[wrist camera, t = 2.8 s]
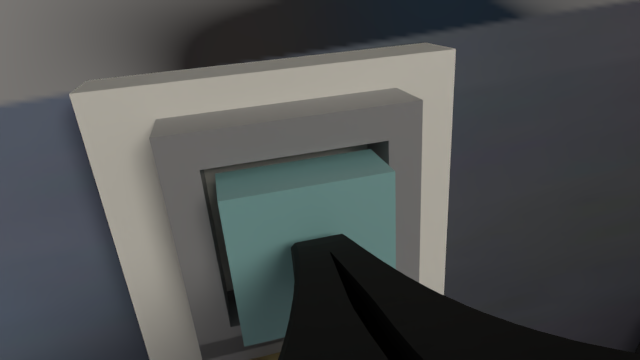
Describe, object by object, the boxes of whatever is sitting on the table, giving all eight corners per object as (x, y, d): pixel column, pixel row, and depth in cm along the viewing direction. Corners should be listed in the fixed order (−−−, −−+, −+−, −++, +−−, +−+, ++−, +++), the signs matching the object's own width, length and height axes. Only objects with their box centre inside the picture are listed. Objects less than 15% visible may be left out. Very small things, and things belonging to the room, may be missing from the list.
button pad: (416, 450, 24) (452, 525, 20) (209, 513, 22) (211, 609, 18) (425, 42, 15) (490, 56, 12) (86, 80, 13) (47, 110, 10)
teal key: (374, 275, 14) (396, 310, 13) (239, 304, 14) (244, 346, 12) (370, 148, 13) (395, 171, 11) (215, 173, 12) (216, 201, 10)
